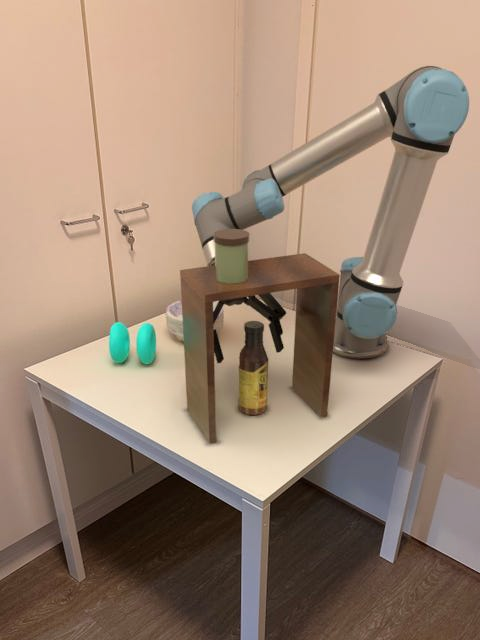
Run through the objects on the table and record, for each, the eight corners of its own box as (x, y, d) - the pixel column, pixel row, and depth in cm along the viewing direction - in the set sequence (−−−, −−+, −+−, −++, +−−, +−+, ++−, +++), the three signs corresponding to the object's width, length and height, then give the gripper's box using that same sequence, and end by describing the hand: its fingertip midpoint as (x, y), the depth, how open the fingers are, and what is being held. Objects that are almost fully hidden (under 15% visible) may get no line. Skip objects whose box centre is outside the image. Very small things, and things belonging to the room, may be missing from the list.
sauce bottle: (264, 418, 135) (266, 332, 125) (235, 415, 136) (235, 330, 126) (269, 402, 141) (271, 319, 130) (241, 399, 142) (242, 317, 131)
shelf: (297, 386, 147) (305, 253, 130) (327, 416, 136) (339, 274, 119) (187, 410, 138) (179, 270, 121) (209, 443, 127) (204, 294, 110)
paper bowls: (209, 353, 162) (208, 324, 157) (157, 342, 167) (154, 314, 162) (232, 330, 173) (232, 302, 169) (183, 321, 178) (182, 294, 174)
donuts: (151, 371, 153) (147, 333, 148) (110, 370, 154) (105, 332, 148) (158, 353, 162) (155, 316, 156) (119, 351, 162) (115, 315, 157)
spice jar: (248, 272, 120) (248, 228, 116) (250, 284, 115) (250, 238, 110) (214, 272, 120) (213, 229, 115) (214, 284, 114) (213, 239, 110)
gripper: (271, 265, 143) (297, 352, 140) (165, 279, 135) (190, 371, 132) (282, 248, 136) (310, 339, 133) (171, 262, 128) (198, 359, 125)
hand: (251, 355), depth 132 cm, fingers open, 13 cm apart
